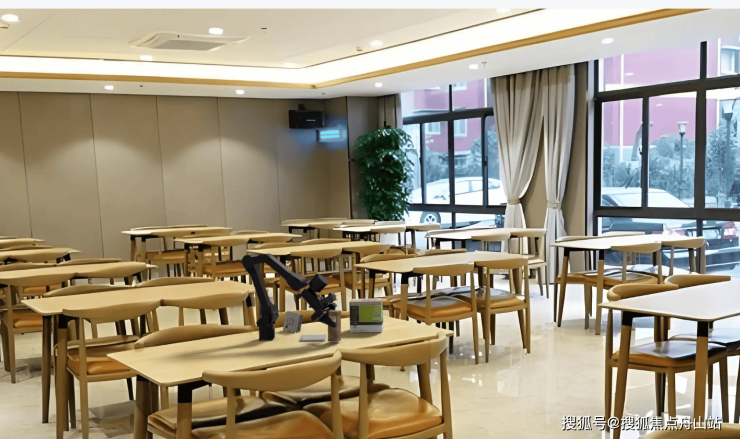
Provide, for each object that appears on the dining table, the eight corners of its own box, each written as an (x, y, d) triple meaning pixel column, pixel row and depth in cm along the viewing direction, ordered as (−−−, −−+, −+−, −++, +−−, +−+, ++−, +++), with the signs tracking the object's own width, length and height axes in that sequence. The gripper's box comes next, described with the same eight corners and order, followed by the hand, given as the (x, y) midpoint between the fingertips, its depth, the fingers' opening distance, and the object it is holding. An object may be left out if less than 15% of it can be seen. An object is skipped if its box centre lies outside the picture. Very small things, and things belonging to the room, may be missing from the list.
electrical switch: (282, 330, 341) (283, 311, 341) (290, 330, 345) (291, 310, 345) (295, 333, 335) (296, 313, 335) (303, 332, 338) (304, 312, 338)
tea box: (383, 328, 341) (383, 297, 341) (381, 333, 331) (381, 301, 331) (352, 328, 343) (351, 298, 342) (349, 333, 333) (348, 301, 332)
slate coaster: (299, 341, 316) (299, 339, 315) (301, 336, 326) (301, 334, 326) (324, 341, 316) (324, 339, 316) (326, 336, 327) (326, 334, 327)
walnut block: (327, 341, 310) (327, 311, 310) (331, 339, 315) (331, 310, 315) (336, 342, 309) (336, 312, 308) (340, 340, 313) (340, 310, 313)
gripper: (317, 290, 303) (342, 317, 300) (332, 284, 321) (356, 309, 318) (300, 308, 306) (324, 335, 303) (316, 301, 324) (340, 326, 321)
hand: (337, 325), depth 311 cm, fingers closed on walnut block, 5 cm apart
